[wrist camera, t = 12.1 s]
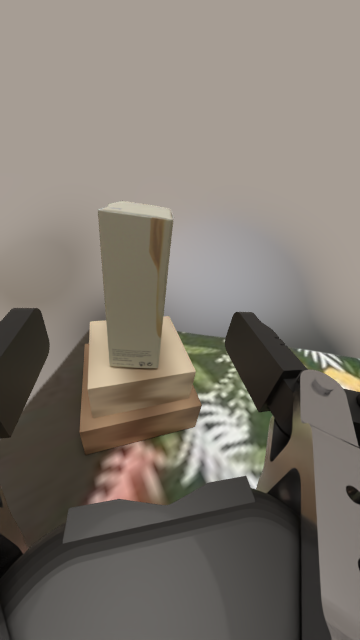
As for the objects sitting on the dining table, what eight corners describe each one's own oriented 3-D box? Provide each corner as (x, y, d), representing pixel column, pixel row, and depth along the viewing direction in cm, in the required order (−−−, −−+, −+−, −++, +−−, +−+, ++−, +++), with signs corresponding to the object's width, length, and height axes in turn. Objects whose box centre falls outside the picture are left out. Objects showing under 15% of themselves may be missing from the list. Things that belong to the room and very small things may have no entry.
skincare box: (158, 370, 18) (175, 219, 12) (107, 368, 18) (93, 208, 11) (160, 327, 24) (172, 205, 17) (121, 324, 23) (117, 197, 16)
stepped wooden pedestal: (168, 356, 31) (174, 311, 27) (194, 426, 23) (210, 378, 18) (88, 366, 28) (80, 317, 23) (85, 455, 19) (72, 403, 15)
